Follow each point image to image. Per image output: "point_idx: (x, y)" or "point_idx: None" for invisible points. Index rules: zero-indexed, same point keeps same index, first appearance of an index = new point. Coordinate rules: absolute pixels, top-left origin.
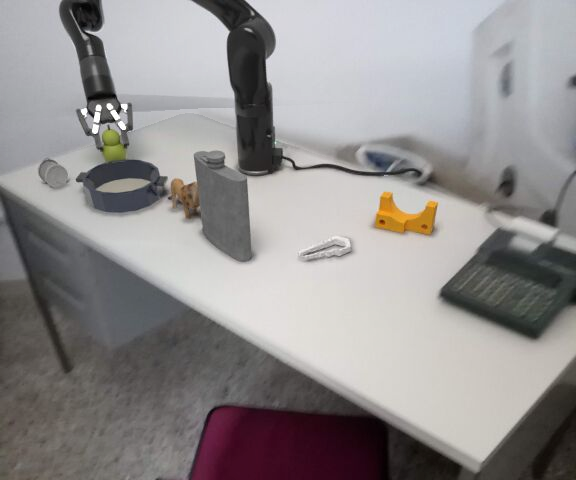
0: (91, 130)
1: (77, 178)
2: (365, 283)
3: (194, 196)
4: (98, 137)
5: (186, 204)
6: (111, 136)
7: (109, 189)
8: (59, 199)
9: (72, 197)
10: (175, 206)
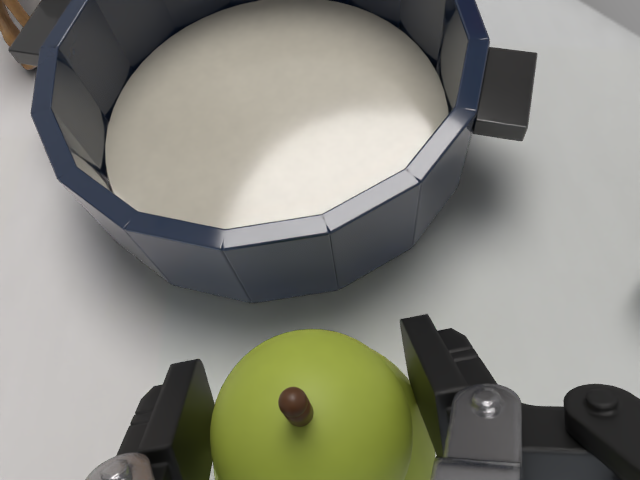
0: (543, 435)
1: (526, 57)
2: None
3: None
4: (439, 365)
5: None
6: (286, 338)
7: (358, 163)
8: (621, 119)
9: (554, 132)
10: None
